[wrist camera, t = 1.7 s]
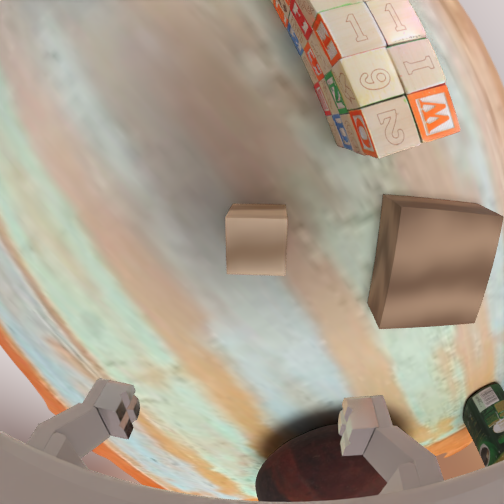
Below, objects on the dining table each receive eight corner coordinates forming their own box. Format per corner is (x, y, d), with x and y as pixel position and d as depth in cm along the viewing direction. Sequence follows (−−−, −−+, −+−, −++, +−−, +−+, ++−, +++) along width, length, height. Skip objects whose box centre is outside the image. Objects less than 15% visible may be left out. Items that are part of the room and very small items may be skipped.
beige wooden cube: (232, 203, 30) (225, 217, 26) (285, 204, 30) (287, 218, 25) (233, 252, 32) (226, 274, 28) (283, 253, 32) (285, 275, 27)
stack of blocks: (246, -38, 21) (230, -109, 9) (304, -54, 20) (315, -124, 8) (337, 147, 28) (378, 161, 16) (395, 127, 26) (464, 133, 15)
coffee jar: (494, 406, 40) (531, 479, 23) (460, 424, 42) (491, 502, 25) (502, 374, 37) (549, 453, 20) (464, 394, 39) (505, 482, 21)
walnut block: (383, 194, 29) (401, 206, 24) (477, 203, 28) (503, 216, 23) (367, 302, 33) (379, 328, 29) (455, 300, 32) (474, 322, 28)
